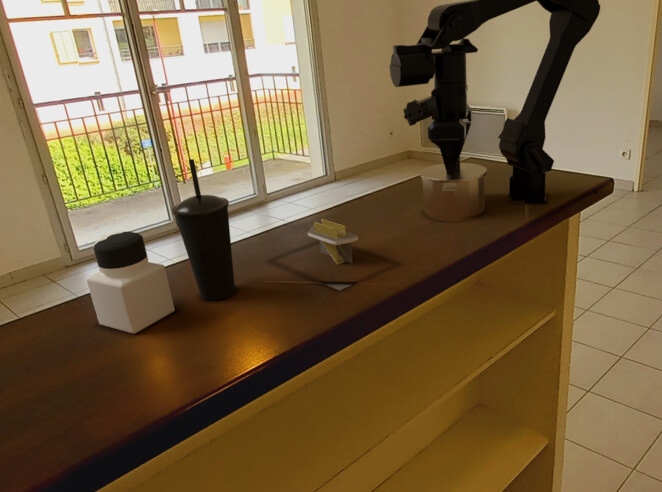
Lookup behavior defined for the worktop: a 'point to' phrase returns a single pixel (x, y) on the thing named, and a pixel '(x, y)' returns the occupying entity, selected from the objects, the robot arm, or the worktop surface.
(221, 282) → the drinking cup
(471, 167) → the lid
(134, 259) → the medicine bottle
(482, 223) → the worktop surface
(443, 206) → the pot
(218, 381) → the worktop surface
